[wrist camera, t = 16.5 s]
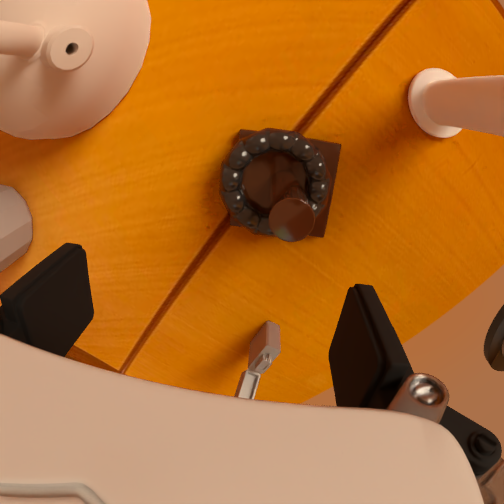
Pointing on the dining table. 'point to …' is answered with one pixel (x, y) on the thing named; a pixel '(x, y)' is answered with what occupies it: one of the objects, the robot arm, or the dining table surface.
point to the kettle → (67, 62)
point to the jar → (13, 226)
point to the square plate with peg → (287, 191)
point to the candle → (456, 103)
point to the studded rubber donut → (258, 146)
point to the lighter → (259, 359)
